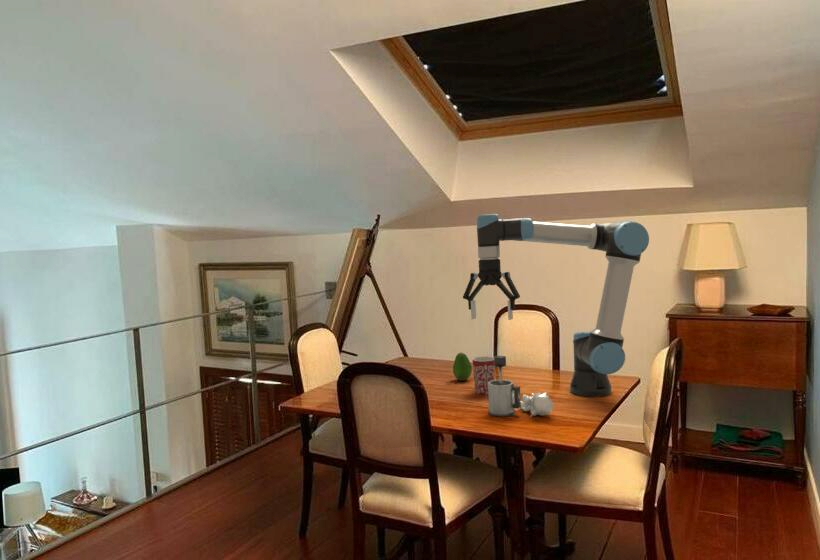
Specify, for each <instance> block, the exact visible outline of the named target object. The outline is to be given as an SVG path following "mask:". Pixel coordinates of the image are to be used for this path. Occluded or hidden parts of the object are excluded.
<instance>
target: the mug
mask: <svg viewBox="0 0 820 560" xmlns="http://www.w3.org/2000/svg"><path fill="white" fill-rule="evenodd" d="M494 357H495V356H489V355H487V356H486V355H485V356H484V355H483V356H482V355H481V356H480V355H479V356H475V357H472V358H471V361H472V371H473V381H474V382H473V383H474V392H475V394H477V395H480V396H488V382H490V381H494V380H495V372H496V371H495V369H496V368H495V367H496V366H494Z"/></svg>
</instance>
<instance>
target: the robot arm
mask: <svg viewBox="0 0 820 560" xmlns="http://www.w3.org/2000/svg"><path fill="white" fill-rule="evenodd" d="M476 233H477V234H476V236H477V237H476V238H477V253H478V254H477V255H478V258H479V260H478V273H476V272H471V273H470V277H469V281H468V284H467V286H466V288H465V291H464V293H463V296H462V299H463V300H467V301H468V302H467V303H468V310H470V315H471V317H470V318H471V320H475V319H477V307H476V306H477V305H476V300H475V298H476V296H477V295H478V293H479V292H480V290H482V288H483V287H484V286H496V287H498V288H499V290H501V291H502V292H503V295H505V296H506V297H507V298H508V299H509V300H507V318H508V320H509V321H511V320H513V319H514V318H513V317H514V315H513V311H514V310H515V309H516V300H517V299H520V297H521V296H520V295H521V294H520V293H519V291H518V290H517V288H516V285H515V284H514V281H513V280H512V278H511V273H510V271H506V272H502V270H501V259H500V257H501V251H500V242H503V241H504V242H506V241H515V242H531V243H541V244H542V243H543V244H555V245H557V244H558V245H568V246H579V247H580V246H581V247H587V248H588V249H589V250H593V251H594V250H595V251H601V252H605V258H606V260H607V261H608V265H607V268H606V269H607V270H606V273H605V274H606V275H605V280H604V285H603V288H602V293H601V294H602V295H601V299H600V303H599V304H600V305H599V310H598V314H597V319H596V325H595V328H594V329H592V330H591V331H577V332H575V333H574V334H573V340H572V343H573V370H574V371H573V374H572V378H571V382H570V384H569V392H570V393H571V394H573V395H576V396H582V397H603V396H608V395H610V394H611V393H612V385H611V381H610V379H609V376H608V375H613V374H615V373H616V372H618V371H620V370H621V369H622V368H623V366H624V364H625V361H626V353H625V351H624V349H623V345H624V341H625V338H624V337H623V335H622V333H621V332H622V327H623V322H624V317H625V312H626V309H627V308H626V307H627V303H628V299H629V293H630V292H629V291H630V287H631V283H632V277H633V273H634V269H635V266H637V265H638V264H639V263H640V261H641V255H642V254H643V252H645V251H646V250H647V249H648V246H649V244H650V236H649V232H648V230H647V228H646V227H645V226H644V225H643V224H641V223H639V222H637V221H632V220H625V221H615V222H607V223H591V224H590V225H583V224H569V223H553V222H546V221H545V222H544V221H533V219H532V218H530V217H520V218H507V219H501V218H499V214H497V213H489V214H488V213H487V214H479V215H478V216H477V217H476ZM478 258H477V259H478ZM501 278H503V279H504V280H505V282H506V284H507V286H508V287H507V286H506V285H505V284H504V282H503V281H502V279H501ZM477 279H479V280H480V281H479V282H478V283H477V285H476V287H475V288H474V289H473V287H474V284H475V282H476V280H477ZM472 289H473V291H472Z"/></svg>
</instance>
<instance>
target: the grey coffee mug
mask: <svg viewBox="0 0 820 560" xmlns="http://www.w3.org/2000/svg"><path fill="white" fill-rule="evenodd" d="M487 396H488V411H487V413H488V415H490V416H492V417H496V418H500V417H501V418H505V417H511V416H512V417H513V416H514V415H516V409H521V408H520V407H521V402H520V401H521V386H518V385H515V384H514V382H513V381H512V380H509V379H502V385H500V383H499V379H494V381H490V382H488V395H487Z"/></svg>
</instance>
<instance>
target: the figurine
mask: <svg viewBox="0 0 820 560" xmlns="http://www.w3.org/2000/svg"><path fill="white" fill-rule="evenodd" d="M548 393H549V392H548V391H545V392H543V393H542V392H540V391H539V392H536V393H533V392H531V393H530V395H531V396H530V395H528V394H523V395H522V396H521V400H520V402H521V407H520V408H519V409H521V410H522V411H524V412H530V414H531V415H529V416H530V418H532V417H533V416H534V417H535V416H547V415H549V414H550V413H551V412H552V411H553V408H554V403H553V400H552V398H551V397H550V396H549V395H548Z"/></svg>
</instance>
